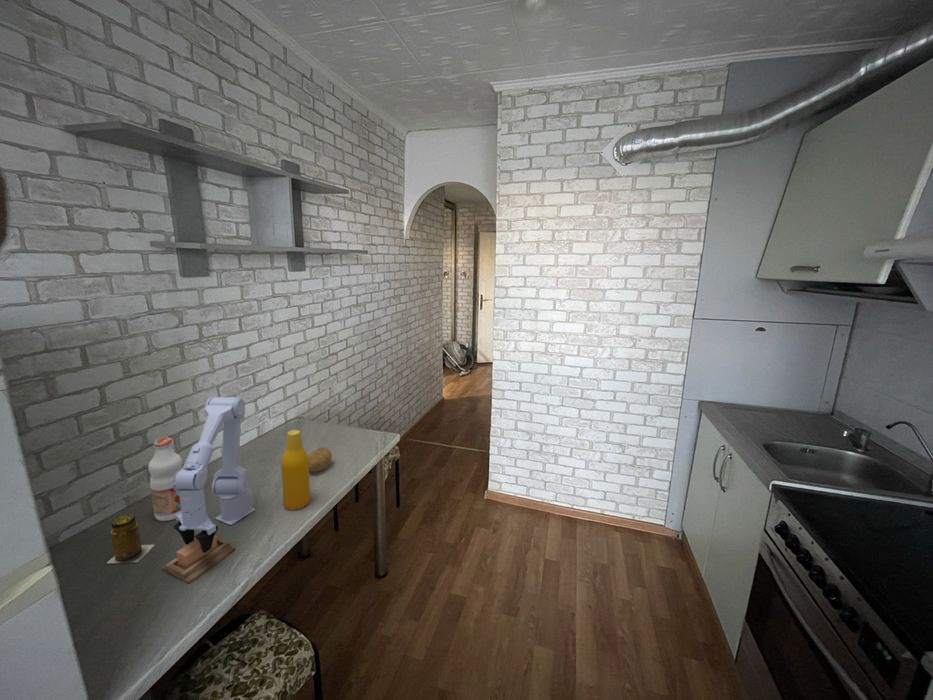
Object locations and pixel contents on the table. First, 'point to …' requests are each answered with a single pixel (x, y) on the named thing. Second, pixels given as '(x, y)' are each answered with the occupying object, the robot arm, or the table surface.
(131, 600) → the table surface
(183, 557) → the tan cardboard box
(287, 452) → the yellow bottle
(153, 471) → the fruit juice
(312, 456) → the potato
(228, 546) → the cradle jig
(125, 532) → the condiment
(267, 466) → the table surface
